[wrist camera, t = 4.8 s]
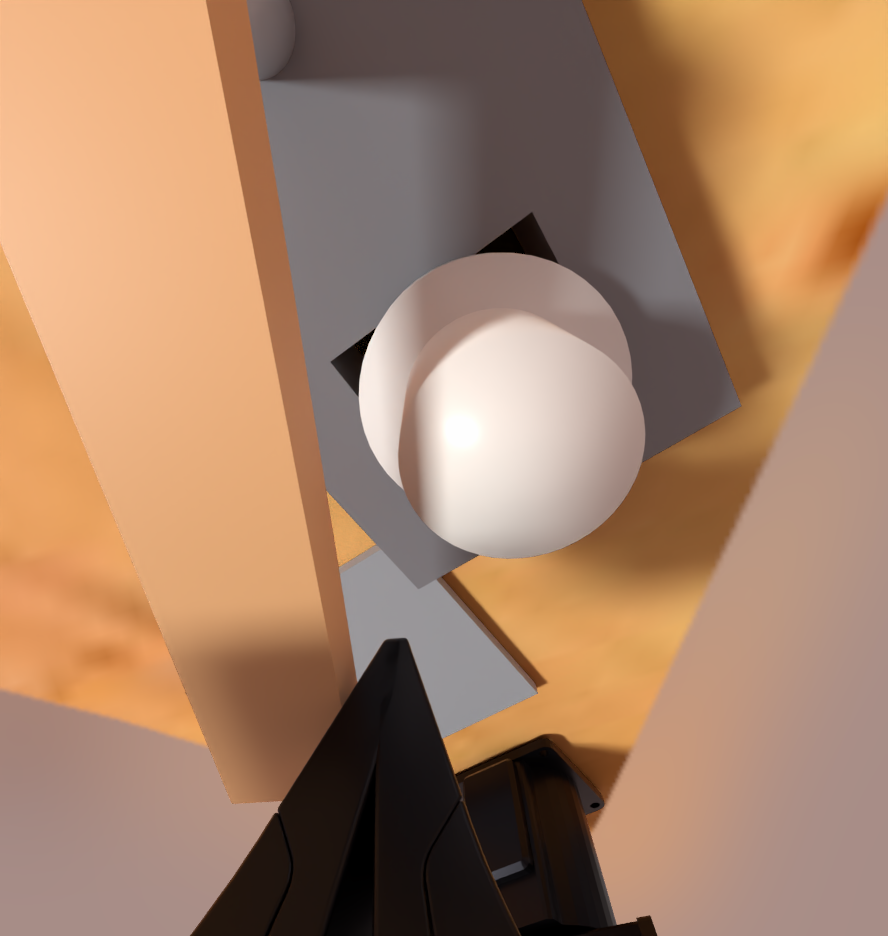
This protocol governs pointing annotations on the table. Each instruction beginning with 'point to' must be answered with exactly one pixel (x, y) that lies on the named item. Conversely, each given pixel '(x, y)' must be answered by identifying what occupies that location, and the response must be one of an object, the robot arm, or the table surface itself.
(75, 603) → the table surface
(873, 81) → the table surface
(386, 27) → the socket base
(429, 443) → the plug
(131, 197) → the light orange flat bar
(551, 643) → the table surface
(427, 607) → the mat
